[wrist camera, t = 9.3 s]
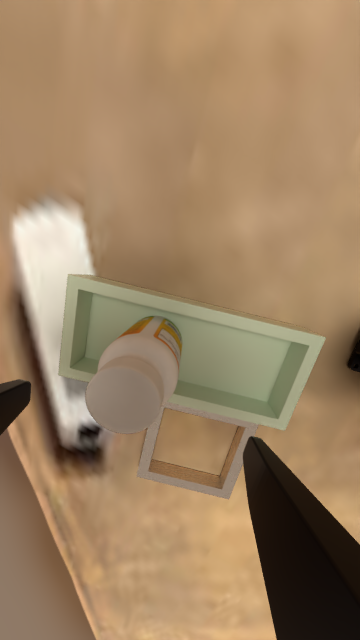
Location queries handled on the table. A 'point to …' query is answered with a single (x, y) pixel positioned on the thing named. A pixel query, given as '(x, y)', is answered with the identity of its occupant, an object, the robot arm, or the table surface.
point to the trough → (195, 348)
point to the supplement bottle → (136, 376)
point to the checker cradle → (193, 478)
